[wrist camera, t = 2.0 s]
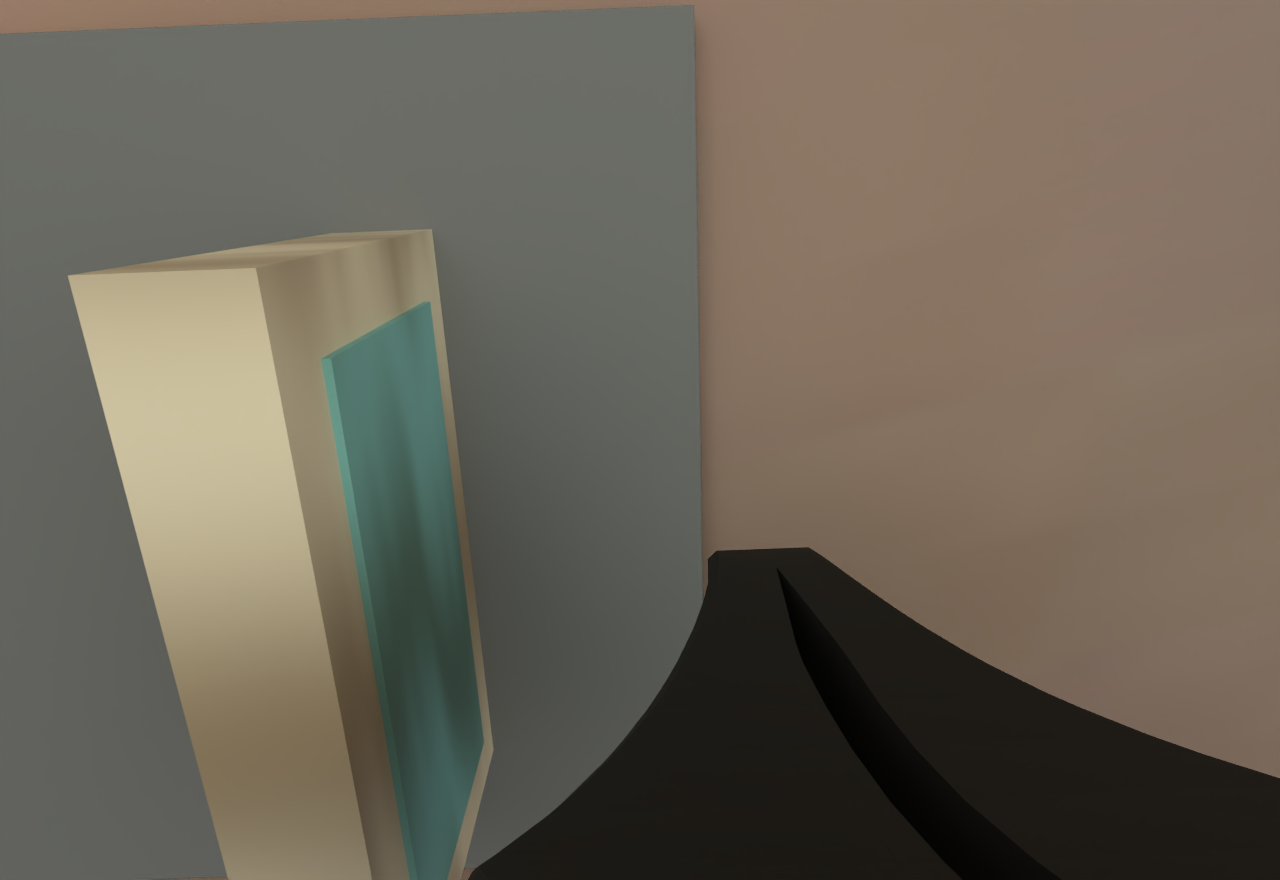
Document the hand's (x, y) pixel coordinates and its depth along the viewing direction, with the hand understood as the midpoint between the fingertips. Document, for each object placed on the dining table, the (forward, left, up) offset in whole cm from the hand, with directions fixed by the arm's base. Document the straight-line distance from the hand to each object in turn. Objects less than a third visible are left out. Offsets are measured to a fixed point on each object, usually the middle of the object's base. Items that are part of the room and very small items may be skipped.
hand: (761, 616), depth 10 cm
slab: (0, +5, -4) cm, 7 cm away
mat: (0, +9, -4) cm, 10 cm away
